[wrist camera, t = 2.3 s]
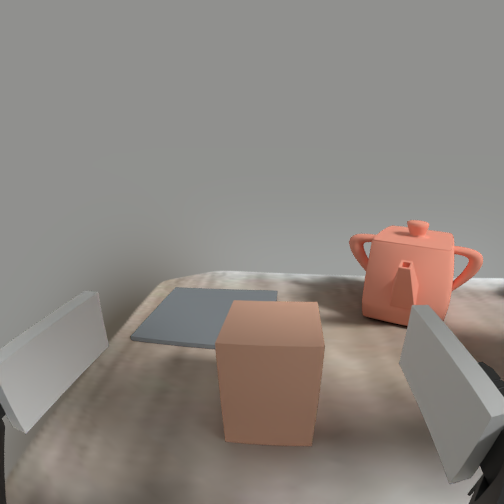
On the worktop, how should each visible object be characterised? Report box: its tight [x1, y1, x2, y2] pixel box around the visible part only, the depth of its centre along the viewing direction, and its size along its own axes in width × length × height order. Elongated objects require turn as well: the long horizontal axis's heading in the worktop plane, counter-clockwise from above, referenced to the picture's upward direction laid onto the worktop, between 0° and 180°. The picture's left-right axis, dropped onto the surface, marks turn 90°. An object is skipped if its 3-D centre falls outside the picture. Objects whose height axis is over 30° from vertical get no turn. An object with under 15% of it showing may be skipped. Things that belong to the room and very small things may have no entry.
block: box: [215, 300, 325, 446], centre depth 24 cm, size 7×7×10 cm
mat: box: [131, 287, 277, 349], centre depth 46 cm, size 18×18×1 cm
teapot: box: [349, 220, 483, 326], centre depth 41 cm, size 20×22×14 cm
